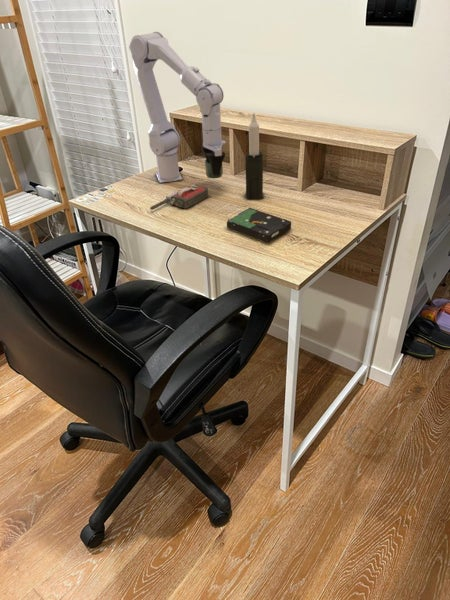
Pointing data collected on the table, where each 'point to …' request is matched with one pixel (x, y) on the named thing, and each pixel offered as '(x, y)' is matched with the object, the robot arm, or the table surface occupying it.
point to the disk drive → (259, 225)
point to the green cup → (209, 170)
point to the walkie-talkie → (185, 197)
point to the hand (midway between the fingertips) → (214, 171)
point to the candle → (254, 163)
